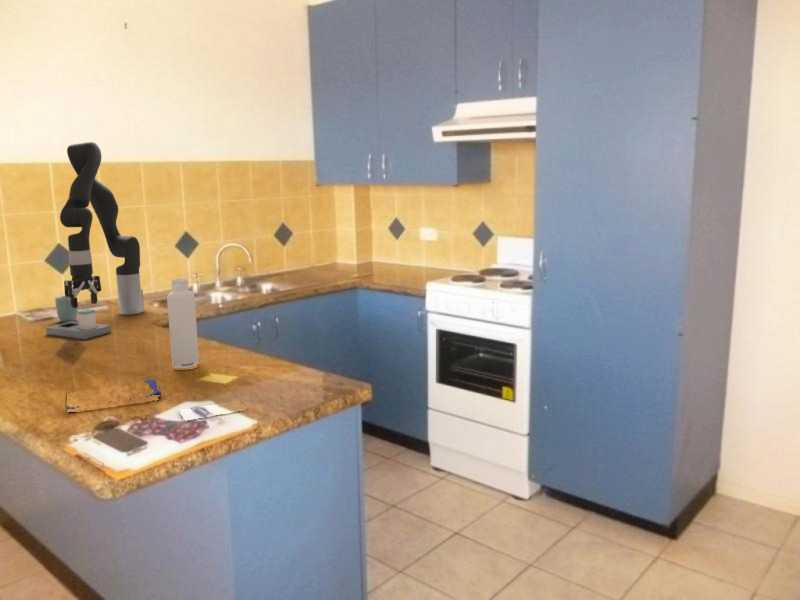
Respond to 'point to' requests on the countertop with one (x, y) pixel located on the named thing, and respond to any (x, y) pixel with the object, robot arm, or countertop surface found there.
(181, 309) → the bottle
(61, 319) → the cup
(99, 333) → the panel
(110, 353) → the countertop surface
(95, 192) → the robot arm
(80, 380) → the countertop surface
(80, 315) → the plug
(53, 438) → the countertop surface
